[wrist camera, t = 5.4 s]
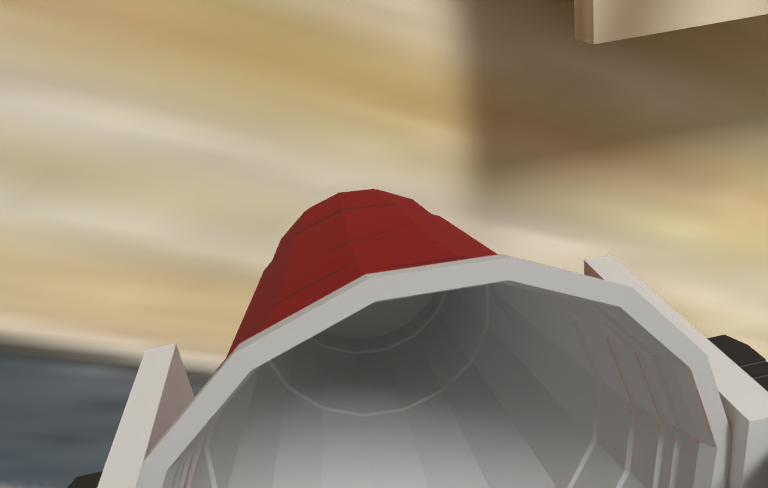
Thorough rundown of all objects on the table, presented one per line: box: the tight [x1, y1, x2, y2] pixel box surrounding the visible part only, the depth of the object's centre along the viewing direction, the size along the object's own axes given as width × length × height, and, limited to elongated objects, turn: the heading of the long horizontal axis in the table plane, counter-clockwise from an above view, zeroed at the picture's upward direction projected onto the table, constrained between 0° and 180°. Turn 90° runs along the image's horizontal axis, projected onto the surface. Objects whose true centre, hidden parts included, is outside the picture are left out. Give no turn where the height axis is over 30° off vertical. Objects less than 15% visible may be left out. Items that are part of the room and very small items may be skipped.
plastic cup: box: [137, 189, 732, 488], centre depth 16 cm, size 11×11×12 cm
